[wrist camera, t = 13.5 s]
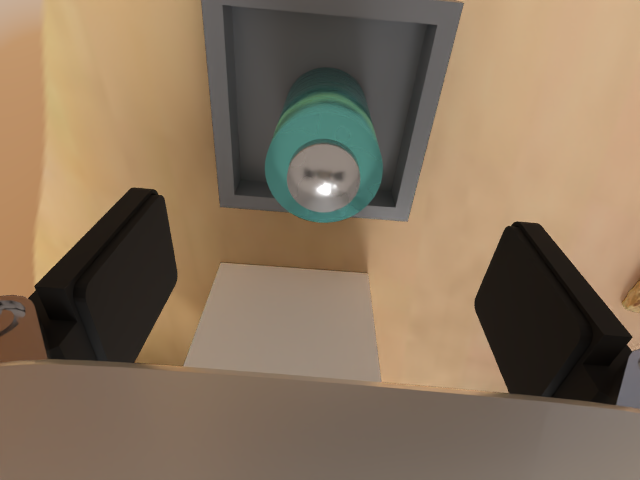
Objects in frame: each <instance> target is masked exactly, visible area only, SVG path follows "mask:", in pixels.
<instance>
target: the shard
mask: <svg viewBox="0 0 640 480" xmlns="http://www.w3.org/2000/svg"><path fill="white" fill-rule="evenodd" d="M622 305H623V307H624V308H625V309H627V310H630V311H633V312H637V313H640V280H639V281H638V283H637V284H636V285H635V286H634V287H633V288H632V289H631V290H630V291H629V292H628V294H627V297H626V298H625V299H624V300H623V301H622Z"/></svg>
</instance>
